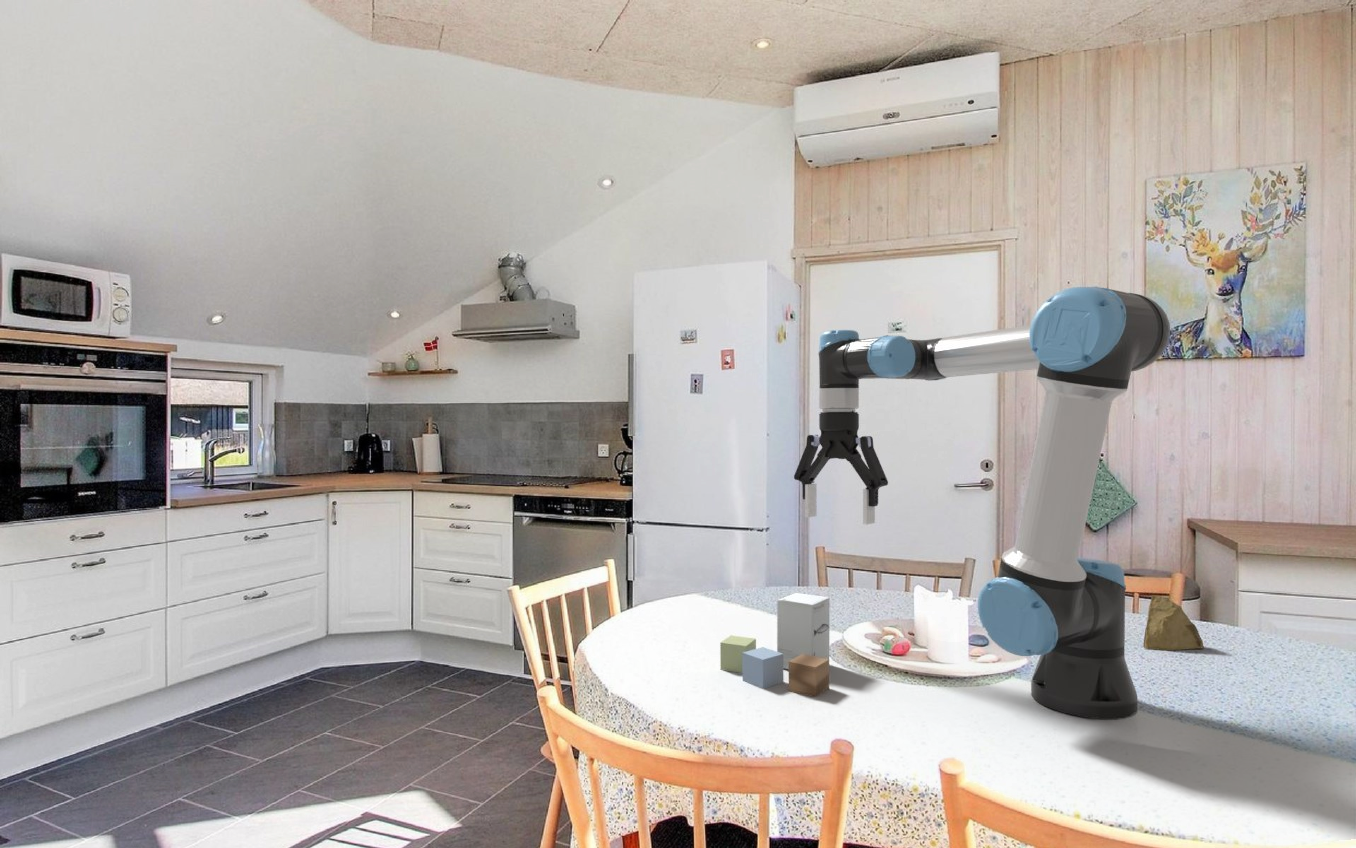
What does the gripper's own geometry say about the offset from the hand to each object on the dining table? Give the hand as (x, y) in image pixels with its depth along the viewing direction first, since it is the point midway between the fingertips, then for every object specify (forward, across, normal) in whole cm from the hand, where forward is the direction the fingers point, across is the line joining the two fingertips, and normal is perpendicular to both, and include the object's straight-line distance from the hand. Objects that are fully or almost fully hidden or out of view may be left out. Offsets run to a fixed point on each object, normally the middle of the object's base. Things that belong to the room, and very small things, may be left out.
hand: (838, 520), depth 150 cm
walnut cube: (+26, -9, +21) cm, 34 cm away
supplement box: (+26, 0, +12) cm, 29 cm away
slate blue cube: (+26, -1, +23) cm, 35 cm away
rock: (+26, -44, -50) cm, 71 cm away
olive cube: (+26, +7, +21) cm, 34 cm away
